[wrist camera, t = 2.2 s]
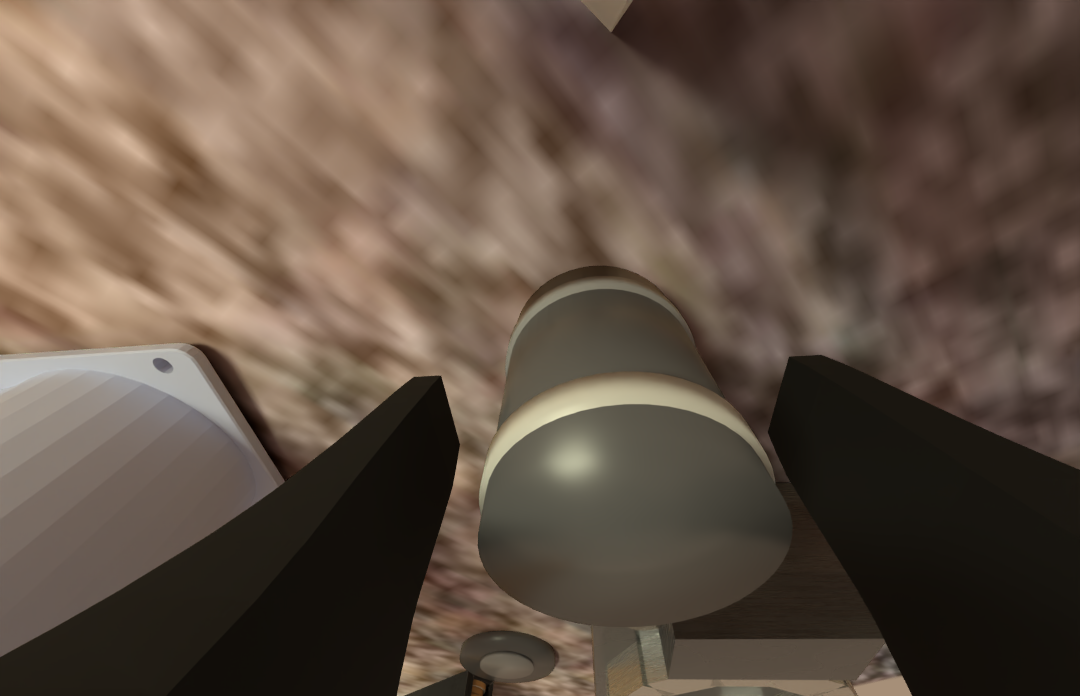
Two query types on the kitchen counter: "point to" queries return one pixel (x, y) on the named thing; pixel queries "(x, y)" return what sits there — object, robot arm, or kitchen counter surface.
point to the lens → (622, 465)
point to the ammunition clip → (458, 686)
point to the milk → (608, 10)
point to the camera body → (753, 634)
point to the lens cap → (507, 656)
